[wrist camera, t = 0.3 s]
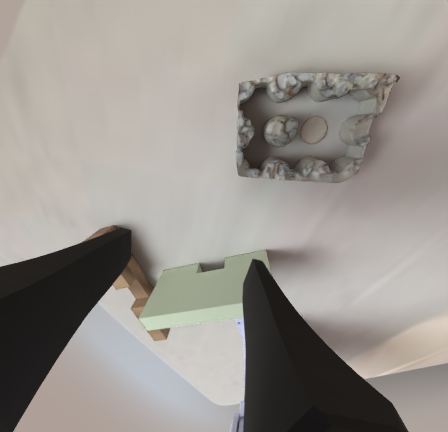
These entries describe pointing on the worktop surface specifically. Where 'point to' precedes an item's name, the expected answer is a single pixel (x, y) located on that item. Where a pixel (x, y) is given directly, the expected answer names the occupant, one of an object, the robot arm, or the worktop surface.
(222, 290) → the long pale green beam
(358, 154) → the egg carton
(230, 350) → the worktop surface
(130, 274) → the walnut board
